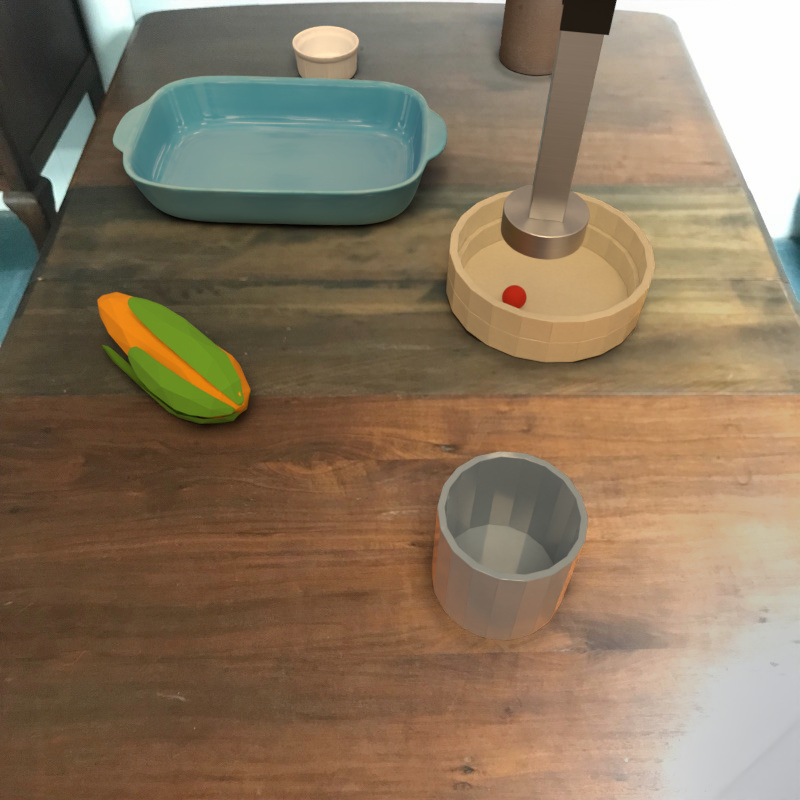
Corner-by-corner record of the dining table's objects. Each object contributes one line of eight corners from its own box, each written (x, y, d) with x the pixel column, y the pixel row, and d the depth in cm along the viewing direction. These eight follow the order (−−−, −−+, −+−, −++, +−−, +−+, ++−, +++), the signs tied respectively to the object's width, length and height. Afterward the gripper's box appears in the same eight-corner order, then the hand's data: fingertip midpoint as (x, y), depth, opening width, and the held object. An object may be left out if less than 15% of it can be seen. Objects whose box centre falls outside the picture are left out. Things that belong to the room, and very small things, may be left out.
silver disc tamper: (601, 239, 56) (709, -155, 38) (538, 271, 54) (619, -130, 35) (545, 196, 59) (618, -189, 41) (483, 224, 57) (531, -168, 38)
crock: (589, 594, 60) (619, 528, 52) (486, 669, 57) (501, 610, 49) (505, 501, 65) (521, 429, 58) (405, 564, 62) (408, 496, 54)
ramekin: (286, 63, 110) (282, 32, 106) (345, 50, 112) (343, 20, 109) (308, 94, 105) (306, 63, 101) (370, 80, 107) (369, 49, 104)
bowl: (680, 312, 80) (698, 267, 75) (531, 398, 72) (541, 354, 68) (550, 211, 90) (559, 166, 85) (408, 278, 82) (409, 232, 78)
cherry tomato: (529, 308, 79) (533, 290, 77) (511, 317, 78) (514, 300, 76) (514, 294, 80) (517, 276, 78) (495, 303, 79) (498, 286, 77)
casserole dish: (104, 236, 86) (85, 180, 80) (153, 122, 100) (140, 68, 95) (443, 249, 85) (446, 193, 80) (444, 132, 99) (448, 79, 94)
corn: (196, 402, 62) (50, 284, 70) (208, 462, 67) (72, 346, 76) (267, 354, 66) (121, 248, 74) (273, 414, 71) (136, 310, 79)
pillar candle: (488, 47, 113) (500, -67, 102) (551, 37, 115) (569, -76, 104) (514, 81, 107) (530, -36, 96) (580, 70, 109) (602, -45, 98)
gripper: (610, -676, 32) (527, -47, 50) (609, -714, 22) (507, 80, 40) (805, -673, 31) (648, -37, 49) (891, -712, 21) (656, 96, 40)
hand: (585, 15), depth 45 cm, fingers closed on silver disc tamper, 2 cm apart
